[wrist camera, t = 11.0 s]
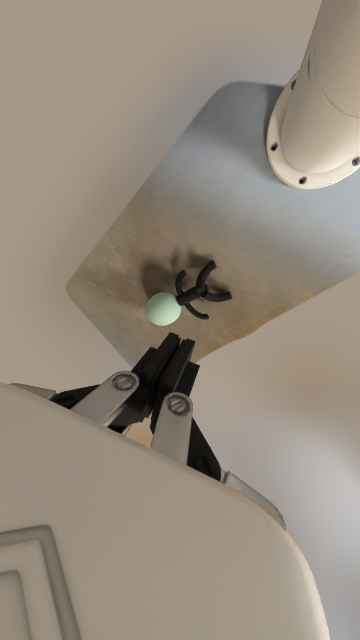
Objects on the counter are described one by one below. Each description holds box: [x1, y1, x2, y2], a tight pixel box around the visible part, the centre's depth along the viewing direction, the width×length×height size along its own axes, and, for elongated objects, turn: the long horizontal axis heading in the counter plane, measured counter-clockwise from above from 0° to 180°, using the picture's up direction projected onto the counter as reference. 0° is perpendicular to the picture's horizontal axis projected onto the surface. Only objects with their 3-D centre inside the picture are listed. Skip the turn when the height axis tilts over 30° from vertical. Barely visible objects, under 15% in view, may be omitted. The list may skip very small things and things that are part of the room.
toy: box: [146, 261, 232, 325], centre depth 36 cm, size 10×6×15 cm
